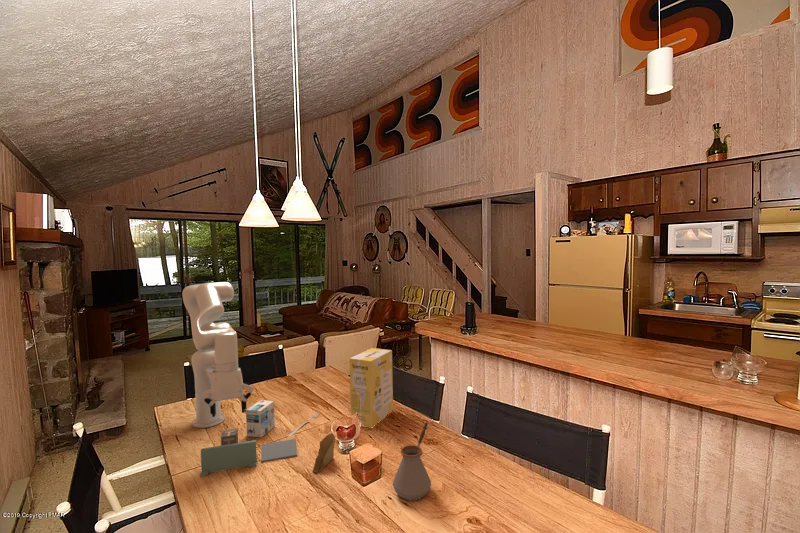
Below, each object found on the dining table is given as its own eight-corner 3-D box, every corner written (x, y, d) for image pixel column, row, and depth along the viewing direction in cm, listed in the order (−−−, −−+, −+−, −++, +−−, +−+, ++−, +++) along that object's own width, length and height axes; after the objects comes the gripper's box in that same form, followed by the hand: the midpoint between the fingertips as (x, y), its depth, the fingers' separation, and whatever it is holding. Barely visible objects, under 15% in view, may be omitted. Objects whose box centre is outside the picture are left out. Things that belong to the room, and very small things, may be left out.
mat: (262, 445, 142) (262, 444, 142) (295, 440, 145) (295, 438, 145) (261, 462, 130) (261, 460, 130) (297, 456, 134) (297, 454, 134)
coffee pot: (424, 509, 105) (423, 456, 104) (386, 499, 109) (385, 449, 109) (444, 468, 125) (444, 423, 124) (412, 461, 129) (411, 418, 129)
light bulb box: (261, 438, 148) (260, 411, 147) (246, 436, 149) (245, 409, 149) (275, 425, 158) (274, 400, 158) (261, 424, 160) (260, 399, 159)
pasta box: (373, 407, 175) (371, 348, 173) (393, 411, 170) (391, 350, 169) (351, 423, 158) (349, 358, 157) (372, 428, 154) (370, 361, 152)
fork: (279, 440, 146) (279, 436, 146) (314, 415, 169) (314, 411, 169) (286, 442, 145) (286, 437, 145) (321, 416, 167) (320, 412, 167)
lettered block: (223, 451, 138) (222, 430, 138) (238, 449, 139) (237, 427, 139) (221, 459, 133) (220, 437, 132) (236, 456, 134) (236, 434, 134)
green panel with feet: (203, 470, 126) (202, 446, 126) (257, 460, 132) (256, 438, 131) (200, 476, 123) (199, 452, 122) (256, 466, 128) (255, 443, 127)
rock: (320, 471, 120) (344, 454, 127) (308, 446, 123) (333, 431, 130) (308, 479, 127) (332, 462, 134) (297, 455, 130) (321, 440, 137)
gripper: (198, 372, 129) (200, 421, 129) (252, 366, 134) (253, 413, 135) (202, 366, 136) (204, 413, 136) (253, 361, 141) (255, 406, 142)
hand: (228, 413), depth 135 cm, fingers open, 9 cm apart
